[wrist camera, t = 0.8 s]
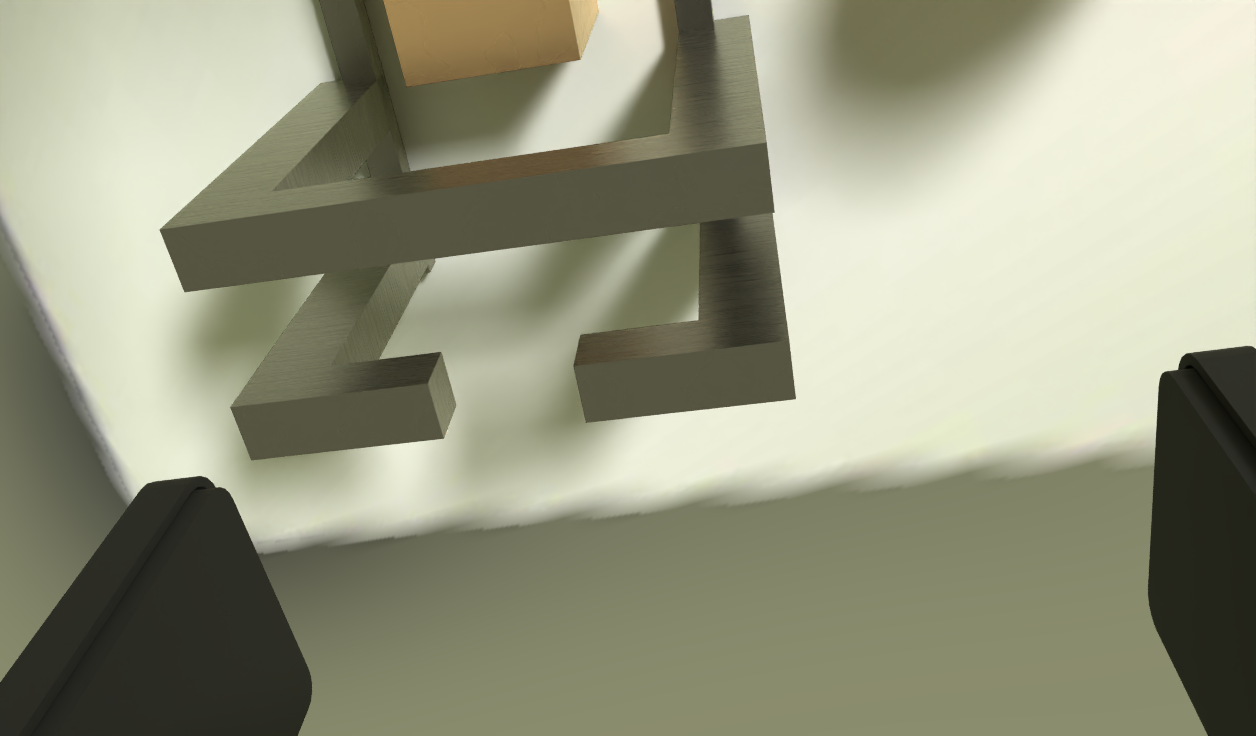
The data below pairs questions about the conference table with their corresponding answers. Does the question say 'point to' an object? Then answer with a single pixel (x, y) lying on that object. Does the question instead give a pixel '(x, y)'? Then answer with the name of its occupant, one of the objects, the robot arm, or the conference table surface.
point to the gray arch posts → (489, 247)
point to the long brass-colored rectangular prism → (486, 35)
